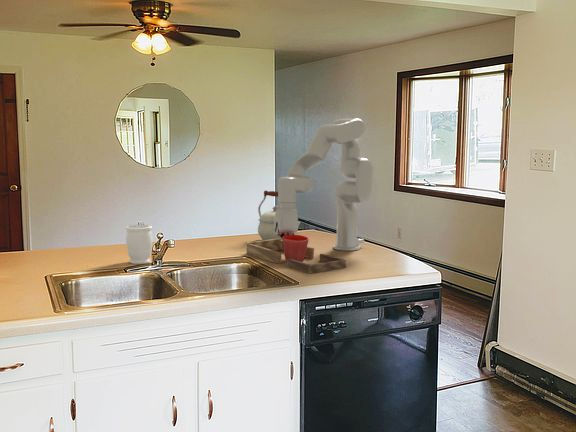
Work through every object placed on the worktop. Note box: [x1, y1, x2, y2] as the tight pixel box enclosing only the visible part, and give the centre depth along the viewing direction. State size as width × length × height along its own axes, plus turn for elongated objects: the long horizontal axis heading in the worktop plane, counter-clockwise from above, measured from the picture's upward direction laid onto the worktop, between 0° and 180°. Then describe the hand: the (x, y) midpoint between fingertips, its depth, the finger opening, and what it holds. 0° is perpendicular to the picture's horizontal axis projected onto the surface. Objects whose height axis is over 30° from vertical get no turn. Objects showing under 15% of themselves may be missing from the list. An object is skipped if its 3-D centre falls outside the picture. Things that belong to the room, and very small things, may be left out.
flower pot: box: [283, 234, 309, 262], centre depth 249 cm, size 11×11×10 cm
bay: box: [286, 253, 347, 274], centre depth 239 cm, size 18×15×3 cm
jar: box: [125, 224, 154, 265], centre depth 243 cm, size 11×10×15 cm
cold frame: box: [245, 239, 315, 264], centre depth 259 cm, size 18×25×5 cm
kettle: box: [257, 190, 301, 241], centre depth 292 cm, size 25×18×25 cm
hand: (286, 248), depth 254 cm, fingers closed
